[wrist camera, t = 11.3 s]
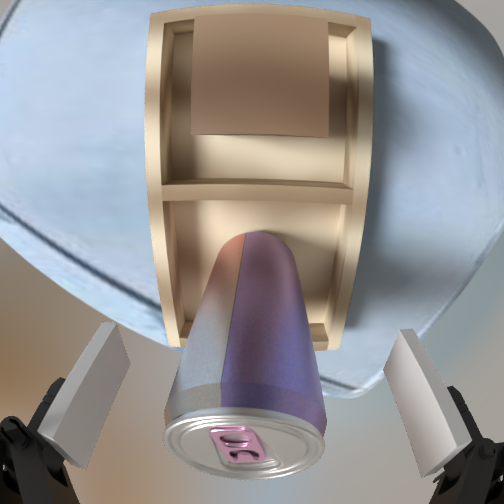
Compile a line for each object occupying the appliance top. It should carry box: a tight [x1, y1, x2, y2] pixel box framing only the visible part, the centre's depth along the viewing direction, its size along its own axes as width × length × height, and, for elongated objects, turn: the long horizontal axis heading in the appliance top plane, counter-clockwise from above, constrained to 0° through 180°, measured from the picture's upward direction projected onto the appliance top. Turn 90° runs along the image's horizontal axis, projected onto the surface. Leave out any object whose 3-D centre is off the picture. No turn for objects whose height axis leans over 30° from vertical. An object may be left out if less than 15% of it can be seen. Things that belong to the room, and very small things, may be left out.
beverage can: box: [163, 232, 327, 480], centre depth 15 cm, size 6×6×15 cm
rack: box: [145, 4, 374, 351], centre depth 18 cm, size 25×14×3 cm, turn 179°
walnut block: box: [191, 13, 329, 138], centre depth 13 cm, size 5×5×9 cm
